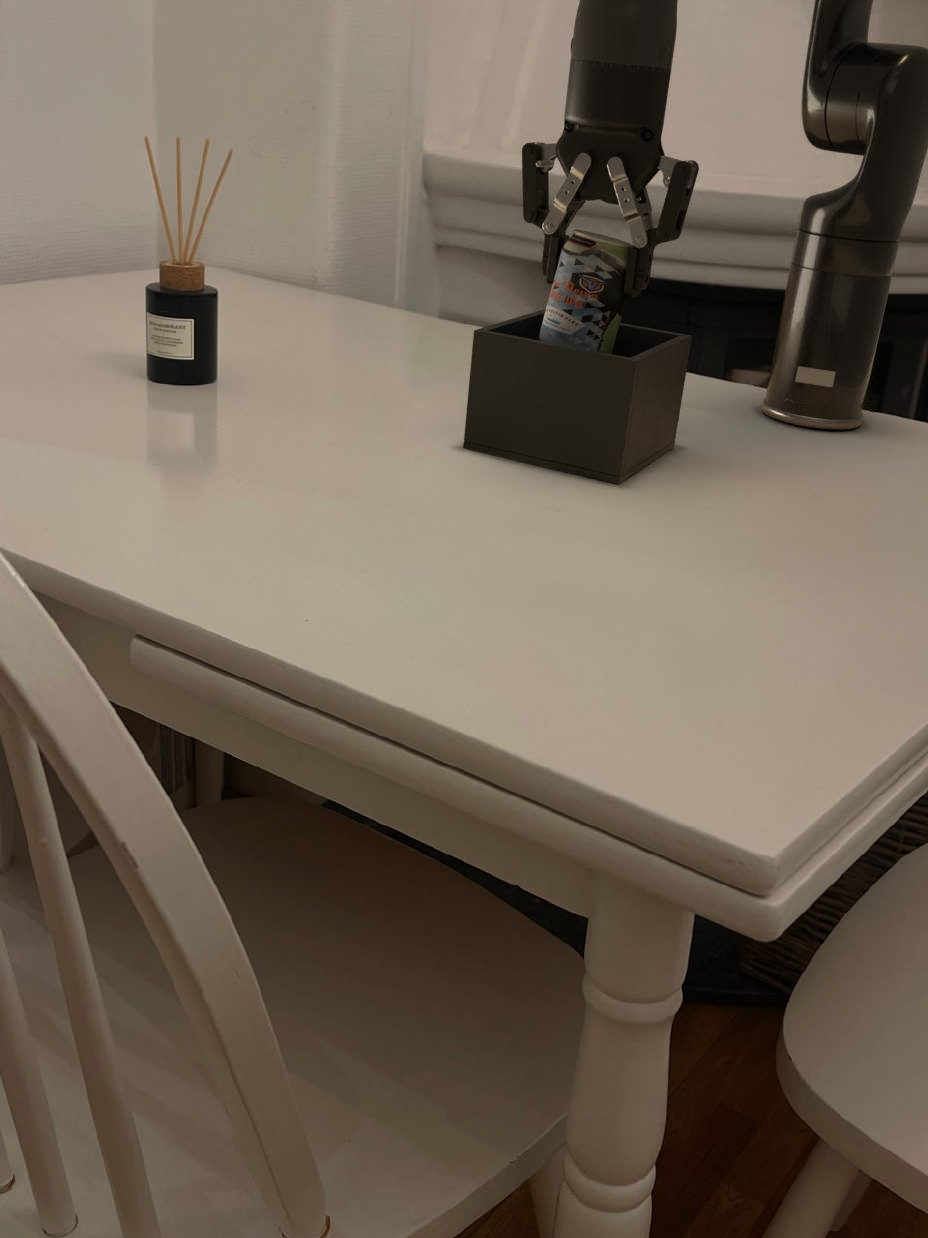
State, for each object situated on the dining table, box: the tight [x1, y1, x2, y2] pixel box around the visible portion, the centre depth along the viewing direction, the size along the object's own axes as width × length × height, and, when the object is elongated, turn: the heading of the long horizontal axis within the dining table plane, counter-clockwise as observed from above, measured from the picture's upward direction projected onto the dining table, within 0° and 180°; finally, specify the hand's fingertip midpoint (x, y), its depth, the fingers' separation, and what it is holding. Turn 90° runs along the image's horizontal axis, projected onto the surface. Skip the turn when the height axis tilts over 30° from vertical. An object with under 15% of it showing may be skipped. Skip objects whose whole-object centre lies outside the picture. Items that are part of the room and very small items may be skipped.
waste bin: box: [462, 308, 693, 485], centre depth 104 cm, size 14×14×10 cm
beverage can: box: [538, 229, 634, 354], centre depth 101 cm, size 6×7×12 cm
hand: (592, 288), depth 100 cm, fingers closed on beverage can, 6 cm apart
